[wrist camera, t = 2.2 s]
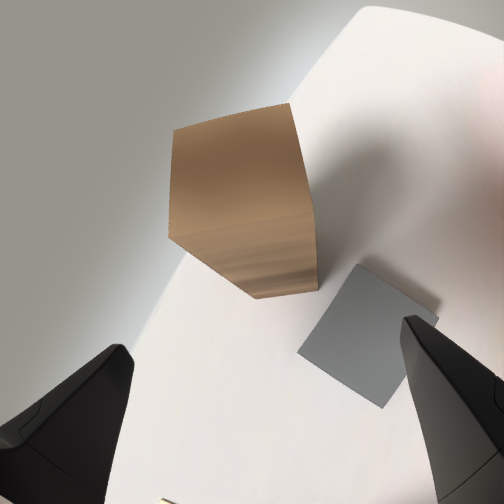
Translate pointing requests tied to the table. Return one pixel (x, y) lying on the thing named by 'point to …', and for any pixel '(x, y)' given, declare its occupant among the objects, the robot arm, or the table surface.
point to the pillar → (245, 201)
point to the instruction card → (164, 502)
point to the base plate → (364, 336)
